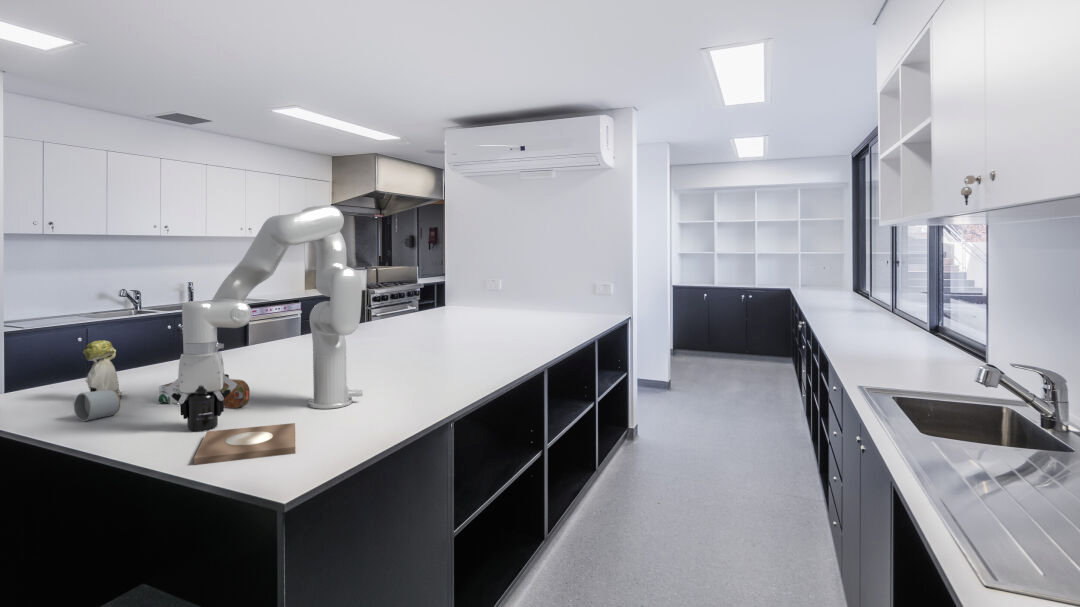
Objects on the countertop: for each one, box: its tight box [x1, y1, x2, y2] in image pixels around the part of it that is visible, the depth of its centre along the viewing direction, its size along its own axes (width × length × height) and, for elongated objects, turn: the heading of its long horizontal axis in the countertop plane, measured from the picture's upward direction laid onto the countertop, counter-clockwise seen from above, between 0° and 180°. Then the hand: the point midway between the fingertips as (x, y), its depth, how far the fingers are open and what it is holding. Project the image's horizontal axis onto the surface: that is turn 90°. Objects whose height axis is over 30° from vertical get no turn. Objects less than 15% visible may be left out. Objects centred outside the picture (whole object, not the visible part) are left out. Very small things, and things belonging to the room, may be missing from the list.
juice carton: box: [157, 373, 230, 404], centre depth 178 cm, size 10×20×6 cm, turn 171°
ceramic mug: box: [73, 390, 121, 422], centre depth 154 cm, size 11×8×8 cm
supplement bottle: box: [186, 385, 219, 432], centre depth 145 cm, size 7×7×12 cm
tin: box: [217, 378, 251, 409], centre depth 167 cm, size 15×3×8 cm, turn 68°
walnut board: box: [193, 422, 296, 466], centre depth 133 cm, size 20×20×2 cm
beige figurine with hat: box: [73, 339, 128, 401], centre depth 172 cm, size 12×13×18 cm
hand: (202, 415), depth 145 cm, fingers closed on supplement bottle, 6 cm apart
